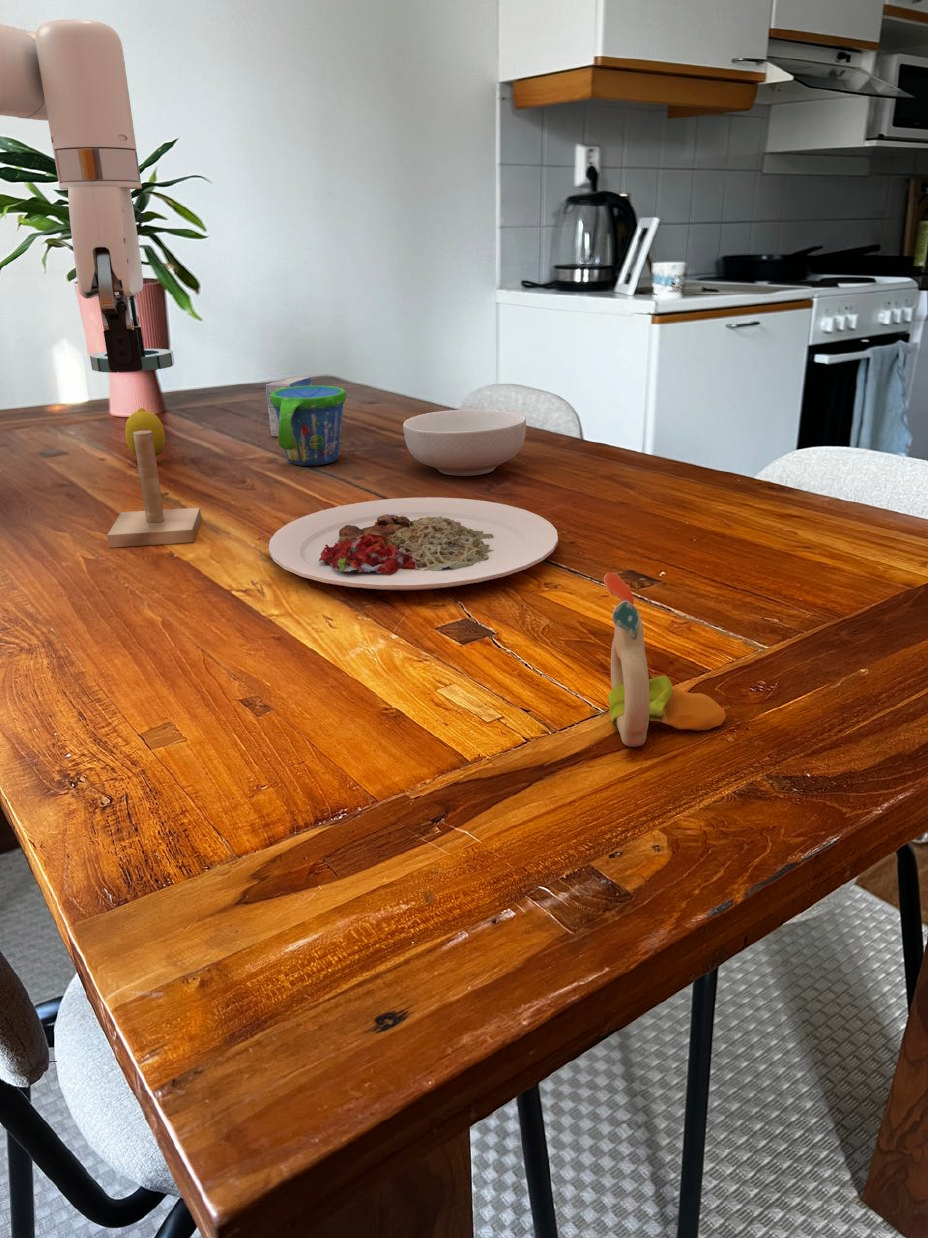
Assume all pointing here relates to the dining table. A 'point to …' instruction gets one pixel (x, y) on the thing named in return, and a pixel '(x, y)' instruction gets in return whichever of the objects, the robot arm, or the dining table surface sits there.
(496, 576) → the plated food
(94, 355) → the ring
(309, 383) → the medicine box
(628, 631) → the rattle
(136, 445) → the stand
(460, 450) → the cereal bowl
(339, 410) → the snack cup
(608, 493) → the dining table surface
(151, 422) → the lemon
